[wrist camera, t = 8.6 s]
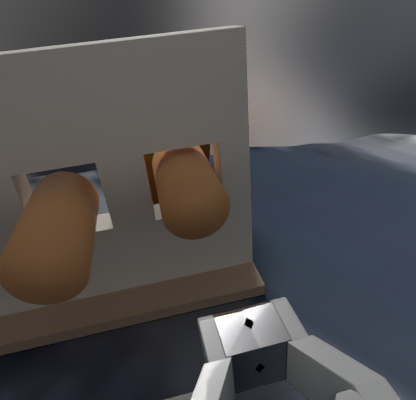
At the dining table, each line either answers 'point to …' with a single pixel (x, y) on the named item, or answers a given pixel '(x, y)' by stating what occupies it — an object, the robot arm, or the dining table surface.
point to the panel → (129, 172)
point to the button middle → (52, 241)
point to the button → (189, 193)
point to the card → (182, 397)
